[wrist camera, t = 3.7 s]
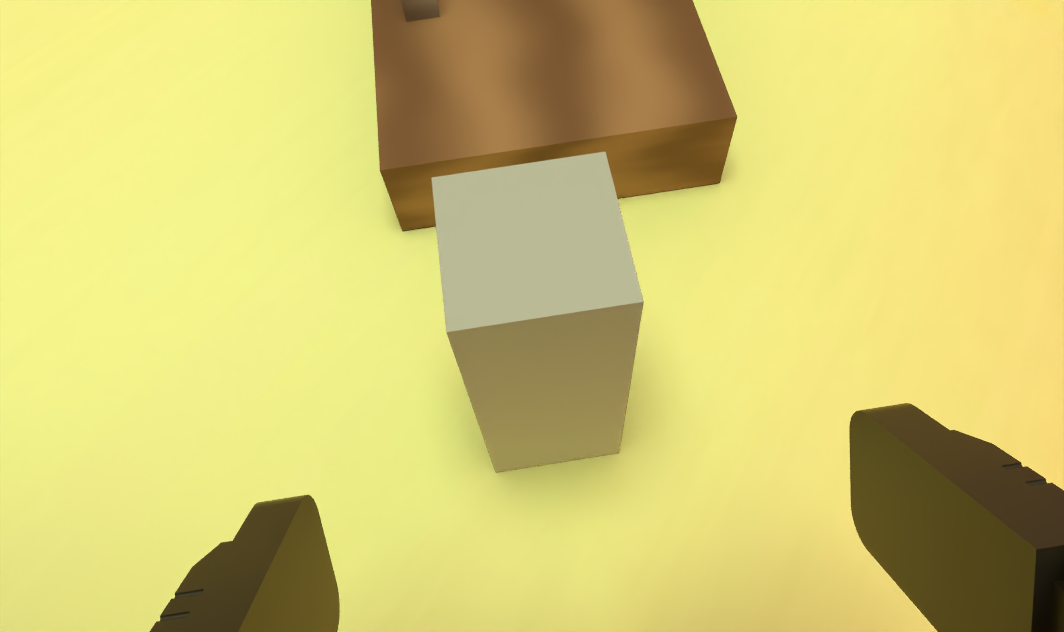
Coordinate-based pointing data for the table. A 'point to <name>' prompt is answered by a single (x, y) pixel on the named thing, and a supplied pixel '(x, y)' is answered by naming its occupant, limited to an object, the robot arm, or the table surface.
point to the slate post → (540, 306)
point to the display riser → (545, 92)
